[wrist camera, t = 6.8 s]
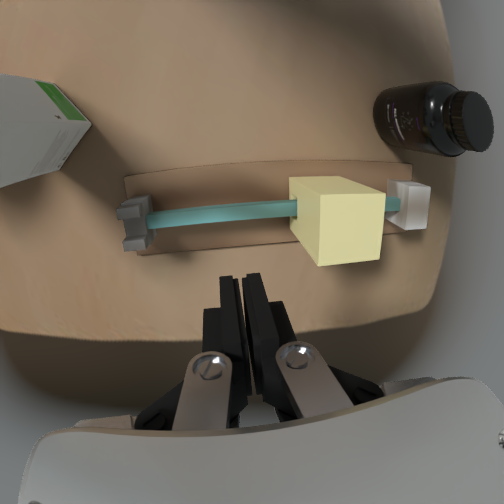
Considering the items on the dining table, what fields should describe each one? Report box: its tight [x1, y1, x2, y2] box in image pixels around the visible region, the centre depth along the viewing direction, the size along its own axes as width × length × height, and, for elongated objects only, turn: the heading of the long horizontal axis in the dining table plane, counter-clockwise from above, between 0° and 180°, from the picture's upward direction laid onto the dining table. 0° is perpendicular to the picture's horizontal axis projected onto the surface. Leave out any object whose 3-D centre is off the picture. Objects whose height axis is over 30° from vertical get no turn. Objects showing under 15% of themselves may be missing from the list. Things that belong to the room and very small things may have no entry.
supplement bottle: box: [373, 81, 494, 157], centre depth 18 cm, size 7×7×12 cm
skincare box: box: [0, 74, 91, 188], centre depth 13 cm, size 8×7×16 cm
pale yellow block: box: [289, 176, 386, 266], centre depth 22 cm, size 5×5×8 cm
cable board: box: [116, 160, 431, 255], centre depth 24 cm, size 8×30×5 cm, turn 94°
